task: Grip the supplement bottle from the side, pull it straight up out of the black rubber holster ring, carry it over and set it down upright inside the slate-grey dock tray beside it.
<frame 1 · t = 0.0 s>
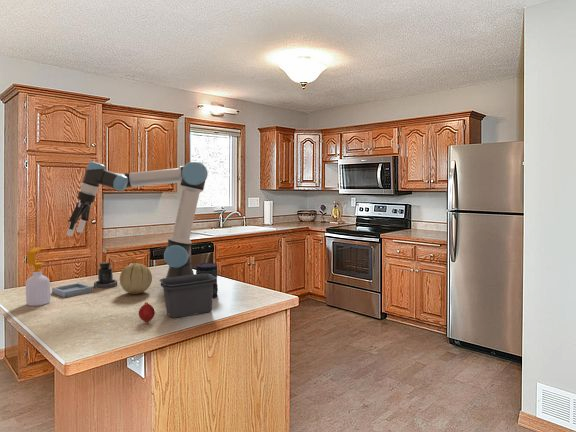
hand: (74, 234, 207), 28 cm above the countertop, tool tilted 20°, fingers open, 13 cm apart
cantaloupe: (136, 293, 203), on the countertop
pomegranate: (146, 323, 160), on the countertop
storage jar: (207, 296, 197), on the countertop
dock tray: (72, 292, 204), on the countertop
storage bin: (188, 312, 173), on the countertop
holster ring: (105, 285, 217), on the countertop
soap bottle: (38, 303, 186), on the countertop
supplement bottle: (105, 286, 218), resting in holster ring
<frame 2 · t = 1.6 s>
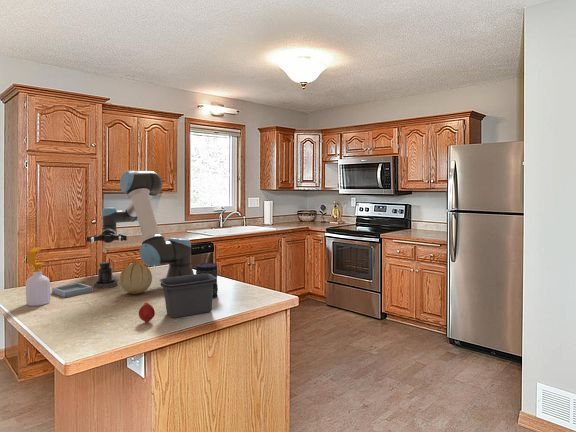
hand: (105, 240, 224), 22 cm above the countertop, tool horizontal, fingers open, 13 cm apart
nothing on the countertop moved.
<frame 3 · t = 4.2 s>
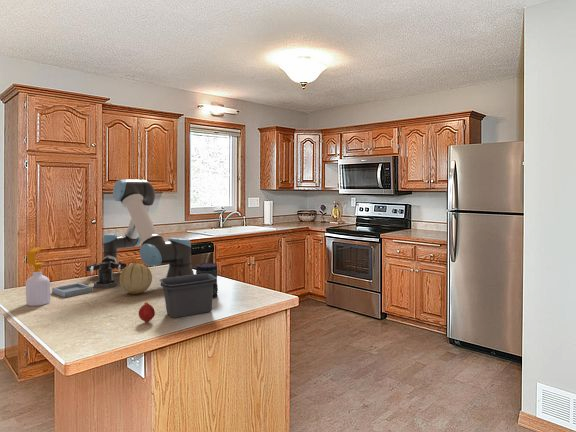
hand: (105, 270, 221), 7 cm above the countertop, tool horizontal, fingers open, 13 cm apart
nothing on the countertop moved.
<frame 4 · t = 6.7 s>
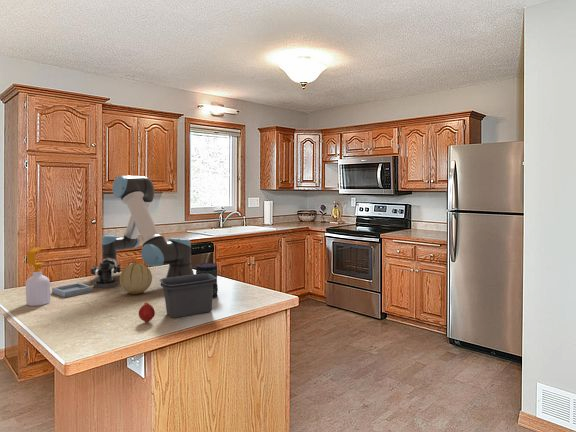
hand: (104, 273, 212), 7 cm above the countertop, tool horizontal, fingers closed on supplement bottle, 7 cm apart
supplement bottle: (105, 286, 218), resting in holster ring, touching gripper
everything else where it was.
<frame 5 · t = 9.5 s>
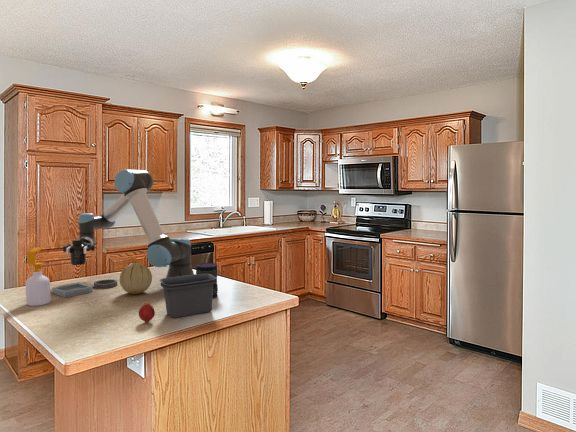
hand: (75, 251, 202), 20 cm above the countertop, tool horizontal, fingers closed on supplement bottle, 7 cm apart
supplement bottle: (78, 264, 207), point 13 cm above the countertop, touching gripper
everything else where it was.
when the fingers open (10 cm above the countertop, at t = 12.5 s): supplement bottle drops 1 cm, resting on dock tray.
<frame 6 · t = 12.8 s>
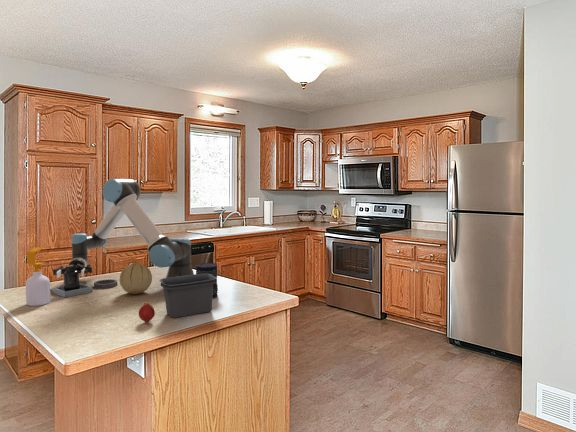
hand: (70, 274, 199), 10 cm above the countertop, tool horizontal, fingers open, 10 cm apart
supplement bottle: (72, 290, 204), point 1 cm above the countertop, touching dock tray
everything else where it was.
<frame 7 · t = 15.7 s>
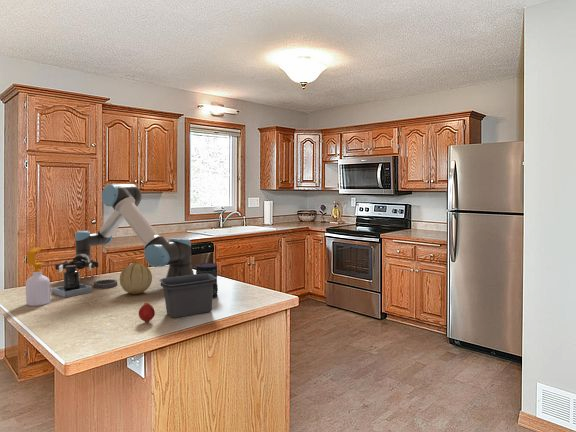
hand: (74, 268, 212), 10 cm above the countertop, tool horizontal, fingers open, 13 cm apart
nothing on the countertop moved.
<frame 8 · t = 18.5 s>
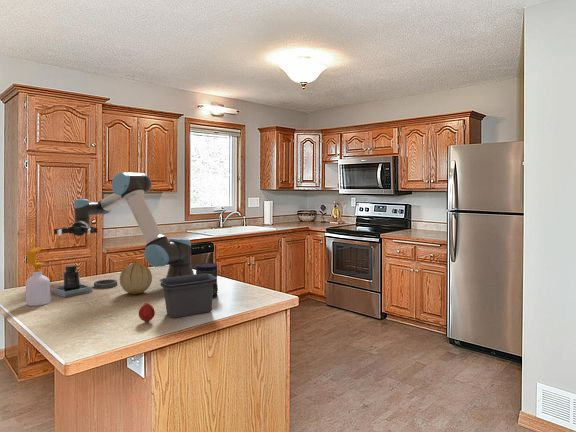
hand: (73, 232, 211), 28 cm above the countertop, tool horizontal, fingers open, 13 cm apart
nothing on the countertop moved.
at the end: supplement bottle inside the target area on the dock tray (0.1 cm from its centre), point 0.8 cm above the dock tray's base; supplement bottle tilted 0°; the gripper is holding nothing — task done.
